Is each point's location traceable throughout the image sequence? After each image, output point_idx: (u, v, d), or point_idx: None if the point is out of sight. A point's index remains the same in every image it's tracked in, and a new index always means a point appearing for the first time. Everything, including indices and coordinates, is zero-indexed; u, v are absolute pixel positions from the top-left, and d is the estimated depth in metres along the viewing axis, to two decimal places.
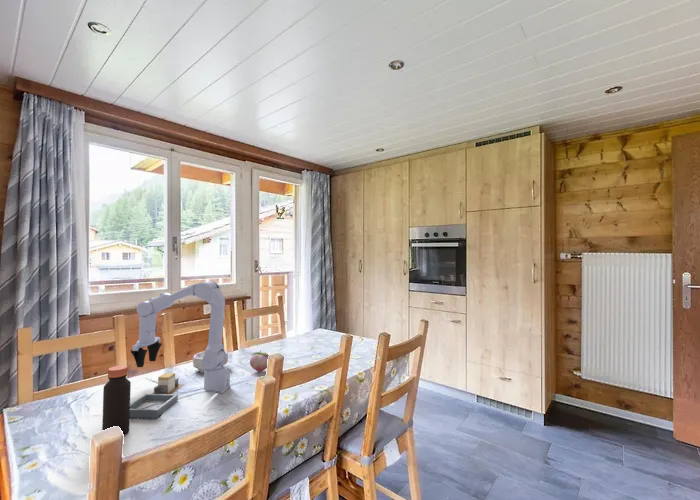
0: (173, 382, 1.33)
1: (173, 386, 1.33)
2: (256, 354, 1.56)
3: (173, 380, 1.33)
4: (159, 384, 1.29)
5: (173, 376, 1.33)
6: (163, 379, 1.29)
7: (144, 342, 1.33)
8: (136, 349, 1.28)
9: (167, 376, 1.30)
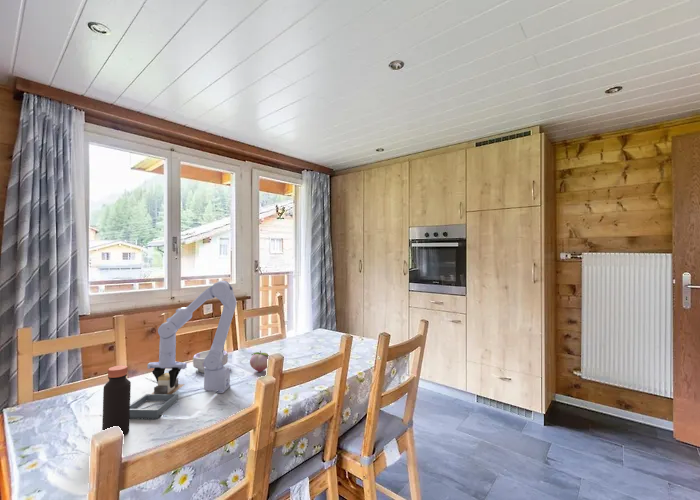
0: None
1: None
2: (256, 354, 1.56)
3: None
4: (159, 384, 1.29)
5: None
6: (163, 379, 1.29)
7: (159, 363, 1.31)
8: None
9: (167, 376, 1.30)
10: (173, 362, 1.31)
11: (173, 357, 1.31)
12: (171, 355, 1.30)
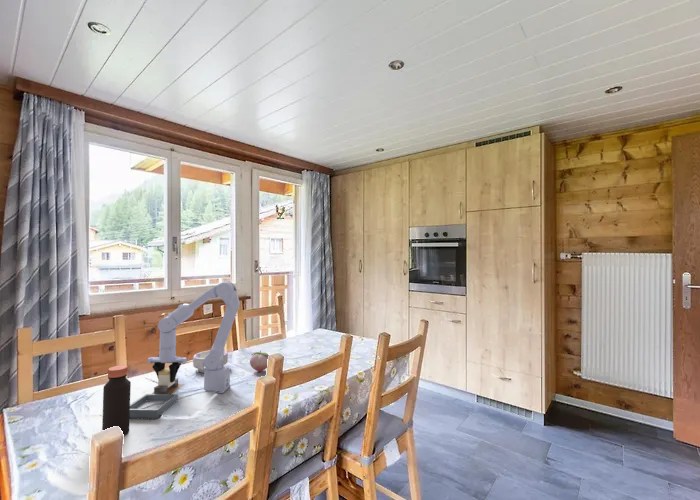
0: None
1: None
2: (256, 354, 1.56)
3: None
4: (159, 379, 1.29)
5: None
6: (163, 374, 1.29)
7: (159, 358, 1.31)
8: None
9: (167, 371, 1.30)
10: (173, 357, 1.31)
11: (173, 352, 1.31)
12: (171, 350, 1.30)
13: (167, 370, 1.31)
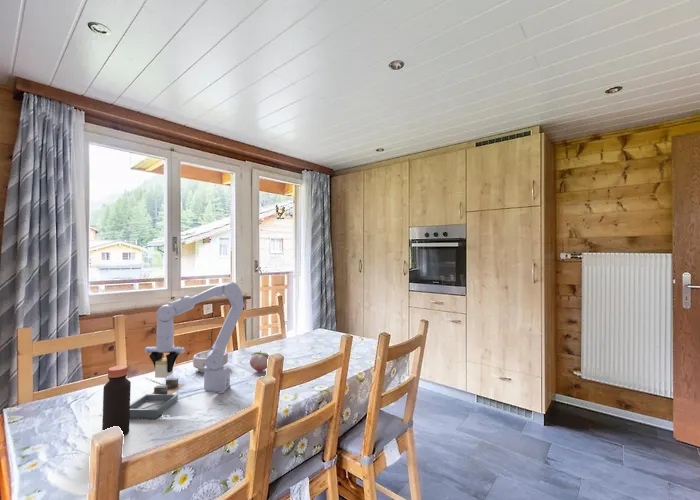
0: None
1: (171, 371, 1.30)
2: (256, 354, 1.56)
3: None
4: (156, 368, 1.26)
5: None
6: (160, 363, 1.26)
7: None
8: None
9: (165, 360, 1.27)
10: (171, 346, 1.28)
11: (171, 341, 1.28)
12: (169, 339, 1.27)
13: (164, 360, 1.28)
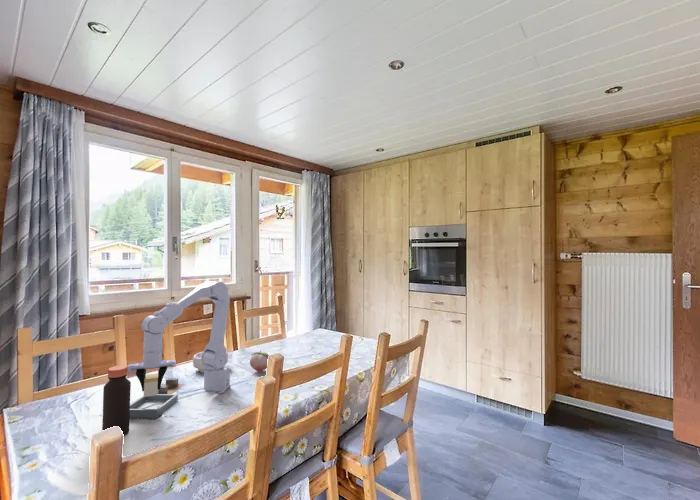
0: None
1: None
2: (256, 354, 1.56)
3: None
4: (146, 387, 1.14)
5: None
6: (151, 380, 1.15)
7: (142, 363, 1.15)
8: None
9: (155, 377, 1.16)
10: (161, 361, 1.17)
11: (161, 355, 1.17)
12: (160, 353, 1.16)
13: (153, 376, 1.16)
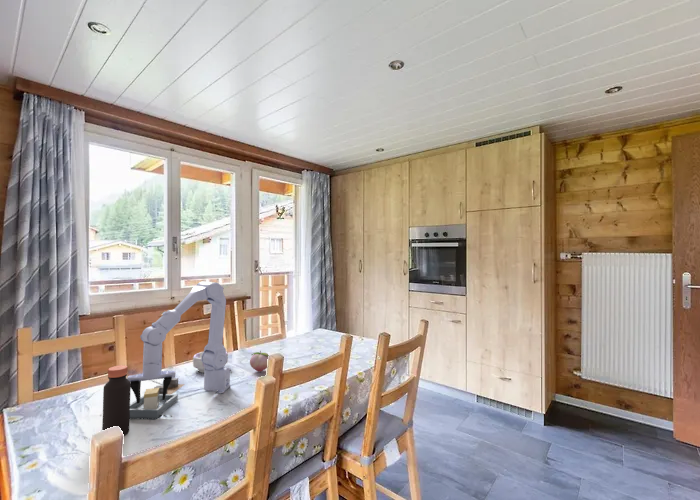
0: (158, 398, 1.19)
1: (158, 402, 1.19)
2: (256, 354, 1.56)
3: (158, 396, 1.19)
4: (145, 402, 1.14)
5: (158, 391, 1.19)
6: (151, 396, 1.14)
7: (142, 375, 1.15)
8: None
9: (154, 392, 1.16)
10: (161, 371, 1.17)
11: (161, 366, 1.17)
12: (159, 364, 1.16)
13: (153, 391, 1.16)
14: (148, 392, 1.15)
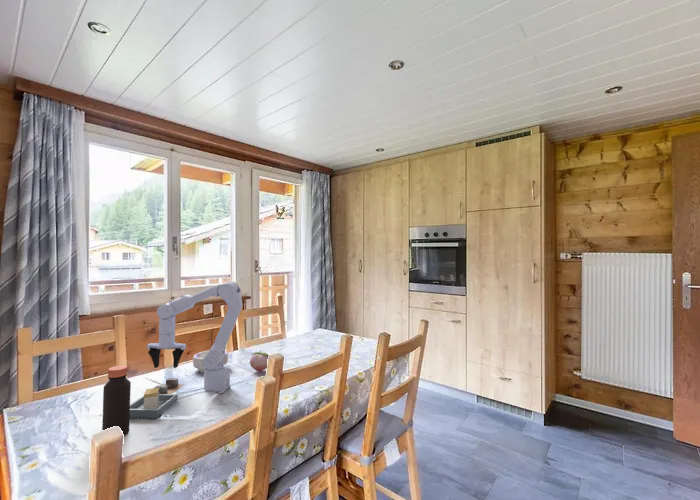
0: (158, 398, 1.19)
1: (158, 402, 1.19)
2: (256, 354, 1.56)
3: (158, 396, 1.19)
4: (145, 402, 1.14)
5: (158, 391, 1.19)
6: (151, 396, 1.14)
7: (158, 344, 1.33)
8: None
9: (154, 392, 1.16)
10: (173, 343, 1.33)
11: (173, 338, 1.33)
12: (171, 336, 1.32)
13: (153, 391, 1.16)
14: (148, 392, 1.15)
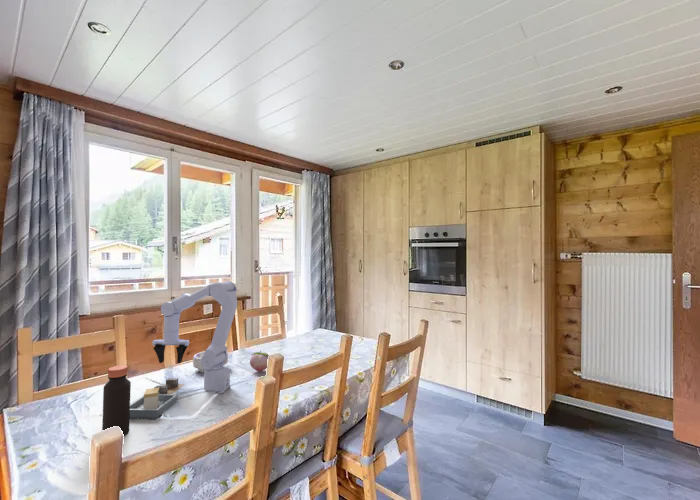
0: (158, 398, 1.19)
1: (158, 402, 1.19)
2: (256, 354, 1.56)
3: (158, 396, 1.19)
4: (145, 402, 1.14)
5: (158, 391, 1.19)
6: (151, 396, 1.14)
7: None
8: None
9: (154, 392, 1.16)
10: (177, 339, 1.39)
11: (177, 334, 1.39)
12: (175, 332, 1.38)
13: (153, 391, 1.16)
14: (148, 392, 1.15)
